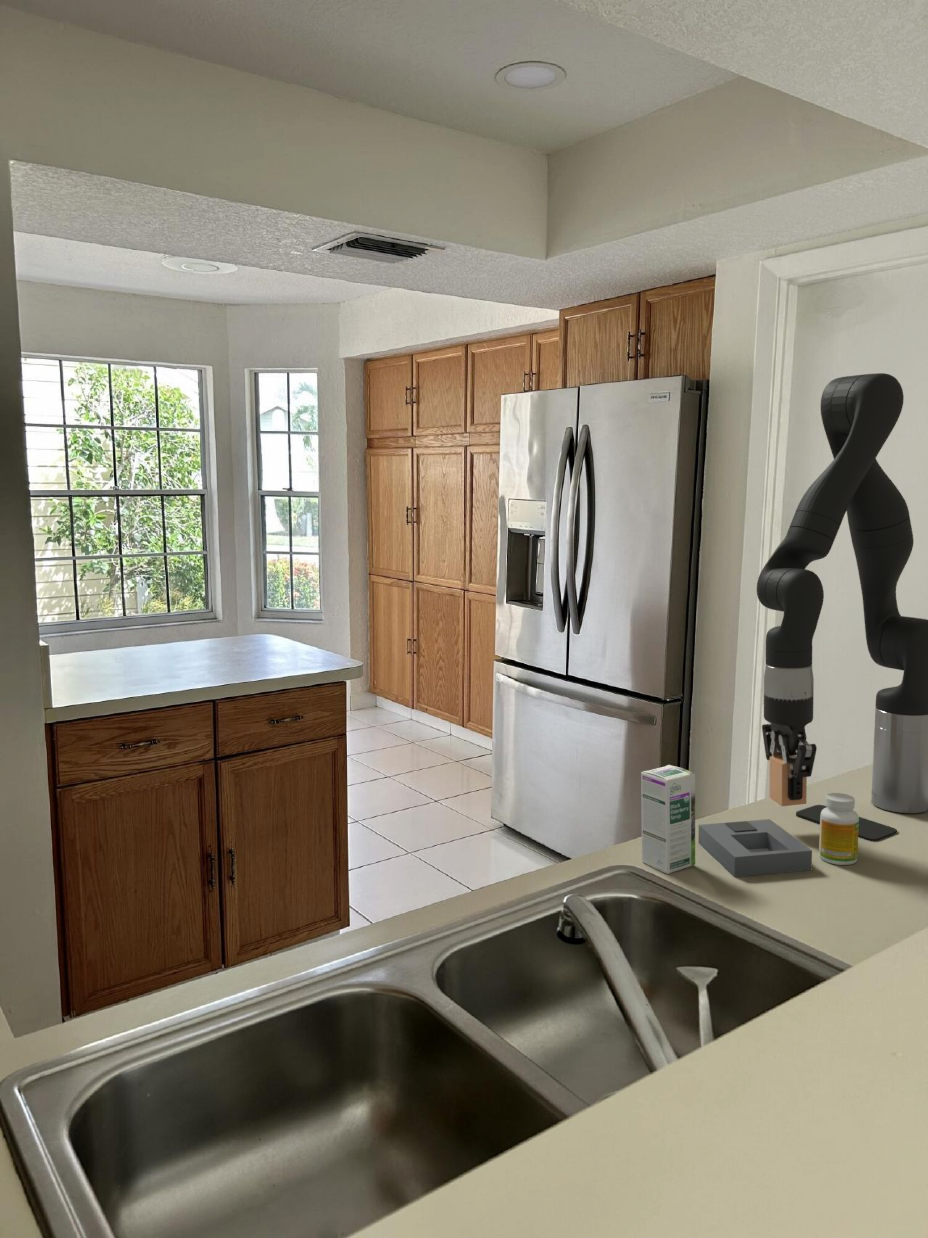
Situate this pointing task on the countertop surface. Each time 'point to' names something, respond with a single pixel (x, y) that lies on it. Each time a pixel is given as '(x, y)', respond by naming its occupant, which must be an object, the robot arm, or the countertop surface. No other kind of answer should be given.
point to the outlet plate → (754, 847)
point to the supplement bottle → (839, 830)
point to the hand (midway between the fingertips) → (787, 793)
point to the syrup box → (668, 818)
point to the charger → (783, 782)
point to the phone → (866, 827)
